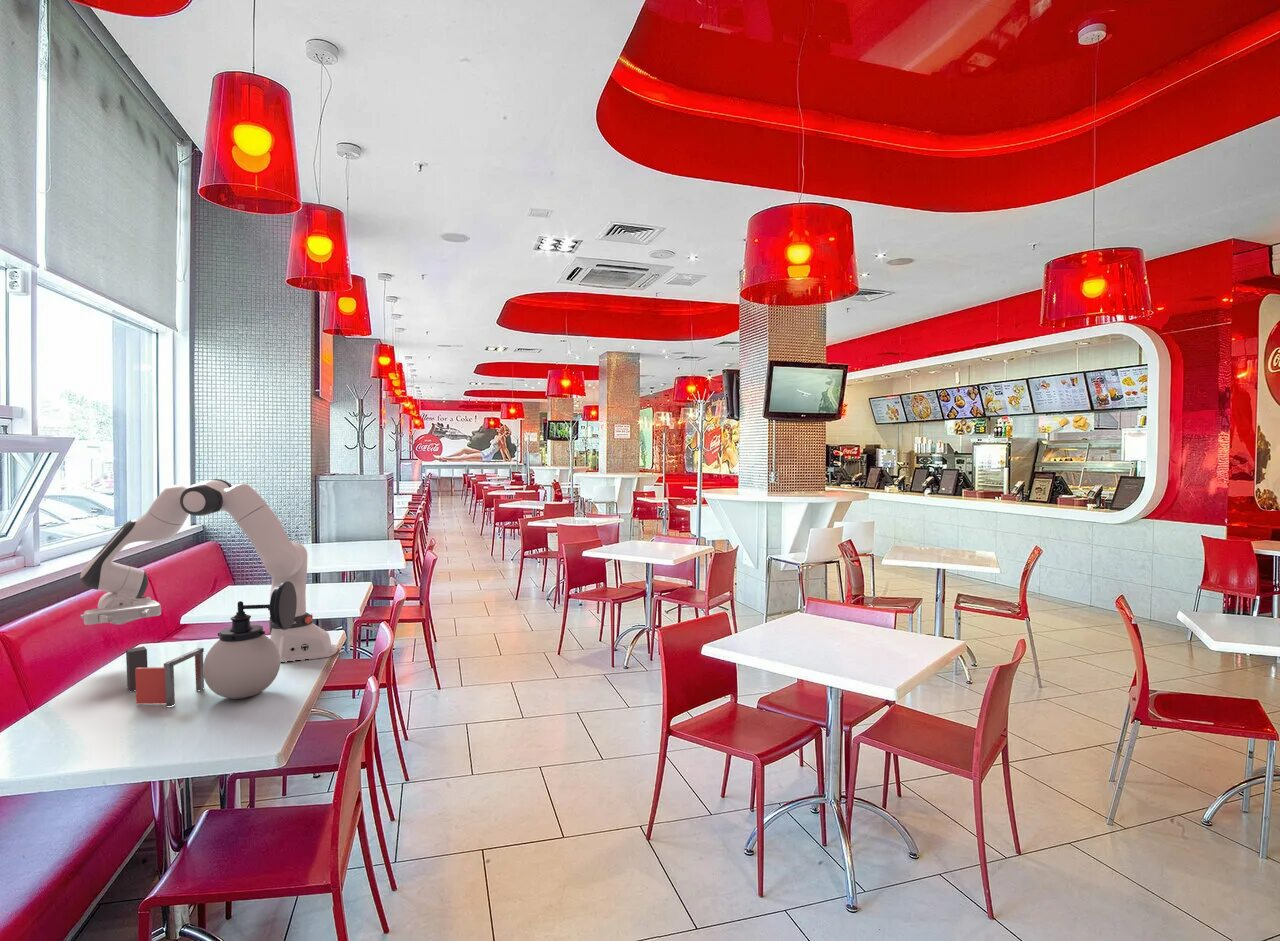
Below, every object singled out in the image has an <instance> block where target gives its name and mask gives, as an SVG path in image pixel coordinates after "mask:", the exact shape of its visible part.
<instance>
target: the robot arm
mask: <svg viewBox="0 0 1280 941" xmlns="http://www.w3.org/2000/svg"><path fill="white" fill-rule="evenodd" d="M220 511H225V512H227V514H229V516H231V517H232V519H233V520H234V521H235V523H236V524H237V526H239V528H240V529H241V530H242V532H243V533H244V535H245V536H246V538H248V540H249V541H250V543H251V544H252V546H253V549H255V552H256V553H257V556H258V557H259V559H260V561H261V563H262V565H263V566H264V569H265V571H266V573H267V574H268V575H269V576H271V577H272V579H271V580H272V581H271V588H270V593H269V597H270V598H269V600H270V599H271V595H272V593H273V591H274V590H275V588H276V587H277V586H280V585H281V584H282V583H283V582H285V581H289V582H291V583H292V584H293V585H294V588H295V591H296V597H297V607H296V614H295V618H294V621H293V624H292V625H291V627H290V628H289V629H287V630H282V629H280V628H279V627H278V626H276V625H274V623H273V622H272V620H271V617H270V616H269V619H268V625H269V626H268V627H269V633H270V636H269V637H270V638H269V639H270V640H272V641H273V643H274V644H275V645H276V647H277V649H278V651H279V654H280V663H281V662H285V663H287V662H286V661H293V662H296V661H295V660H301V661H306V660H305V659H309V660H317V659H323V658H329V657H332V656H333V655H335V654H336V653H337V652H338V650H339V647H338V645H337V644H335V643H333V644H332V641H331V636H330V634H329V632H328V631H326V630H325V629H323V628H321V627H320V626H318V625H316V624H314V623H313V621H314V620H313V616H314V615H313V613H311V614H310V613H308V612H307V601H306V599H307V598H306V597H307V596H306V588H307V586H306V585H307V579H308V578H307V576H308V575H307V574H308V551H307V549H306V547H305V546H304V545H303V544H302V543H299V542H297V541H294V540H293V541H291V540H290V538H289V536H288V535H287V533H286V531H285V529H284V527H283V523H282V522H281V521H280V520H279V518H278V517H277V515H276V514H275V513H274V511H273V510H272V509H271V507H270V506H269V505H268V503H267V502H266V501H265V500H264V498H262V496H261V495H260V494H259V493H258V492H257V491H256V490H255V489H254V488H253V487H251V486H250V485H249V484H248V483H237V484H235V485H232V484H231V483H229V481H227V480H225V479H218V478H215V479H210V480H203V481H200V482H197V483H195V484H192V485H189V486H188V487H185V486H182V485H177V484H174V485H173V484H172V485H168V486H167V487H165V488H164V489H163V490H162V491H161V493H160V494H158V496H157V497H156V498H155V500H154V501H153V502H152V504H151V506H150V507H149V509H148V510H147V512H146V513H144V514H143V515H142V516H141V517H138V518H137V519H130V520H129V521H128V522H127V521H126V523H125V524H124V525H122V527H121V528H120V529H119V530H118V531H117V532H116V533H115V534H114V535H113V536H112V537H111V538H110V539H109V540H108V542H107V543H106V544H105V545H104V546H103V547H102V548H101V549H100V551H99V552H98V553H97V554H96V555H95V556H94V557H93V558H92V559H90V560H89V561H88V563H86V564H85V565H84V566H83V568H82V569H81V572H80V575H79V579H80V582H81V584H82V585H83V586H84V587H85V588H86V589H91V590H97V591H98V590H99V591H102V592H106V593H104V594H102V596H100V598H99V600H98V602H97V608H92V609H88V610H85V611H84V612H83V614H82V613H80V616H79V617H80V618H81V619H83V624H84V625H85V626H91V625H99V624H106V623H109V624H113V625H124V624H126V623H129V622H132V621H135V620H140V619H144V618H151V617H159V616H160V615H162V605H161V603H160V602H159V601H157V600H154V599H152V598H151V597H150V596H144V595H145V593H146V591H147V589H148V585H149V578H148V575H147V572H146V570H144V569H141V568H138V567H134V566H130V565H127V564H126V565H125V564H121V563H118V562H115V561H113V560H114V559H115V558H116V556H118V554H119V553H120V552H121V551H122V549H124V548H125V546H128V545H129V544H133V543H139V542H162V541H166V540H169V539H171V538H173V537H174V536H176V535H177V533H179V531H180V530H181V529H182V526H183V525H184V523H185V522H186V520H187V518H188V516H190V515H191V516H194V517H195V516H196V517H201V516H202V517H203V516H208V515H210V514H215V513H217V512H220Z"/></svg>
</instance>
